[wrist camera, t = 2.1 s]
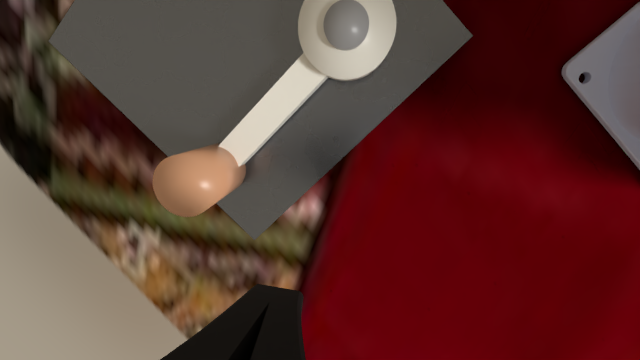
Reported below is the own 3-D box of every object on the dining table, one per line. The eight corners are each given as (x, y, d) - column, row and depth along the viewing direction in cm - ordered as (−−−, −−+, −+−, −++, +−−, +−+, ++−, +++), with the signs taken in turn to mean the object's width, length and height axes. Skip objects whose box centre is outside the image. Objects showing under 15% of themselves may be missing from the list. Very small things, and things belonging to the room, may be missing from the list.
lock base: (465, 40, 15) (474, 34, 14) (254, 237, 18) (247, 246, 17) (232, -230, 13) (221, -262, 12) (54, 44, 17) (32, 40, 16)
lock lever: (410, 34, 14) (431, 7, 10) (234, 209, 17) (199, 240, 13) (348, -35, 13) (347, -91, 10) (179, 157, 16) (127, 172, 12)
